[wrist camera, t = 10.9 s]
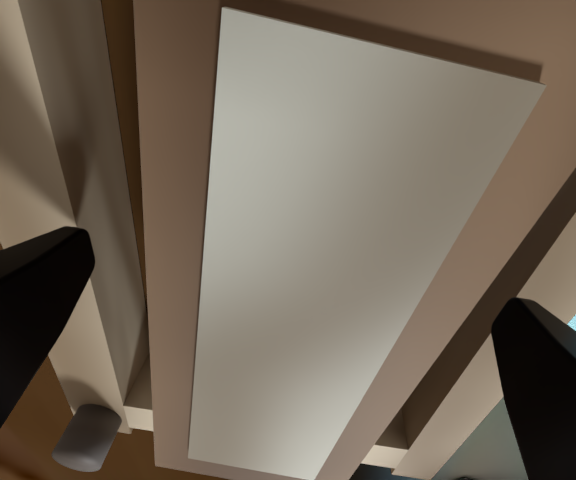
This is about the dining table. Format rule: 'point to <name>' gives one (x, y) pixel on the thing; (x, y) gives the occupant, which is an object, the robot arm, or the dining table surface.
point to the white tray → (125, 262)
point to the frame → (331, 208)
